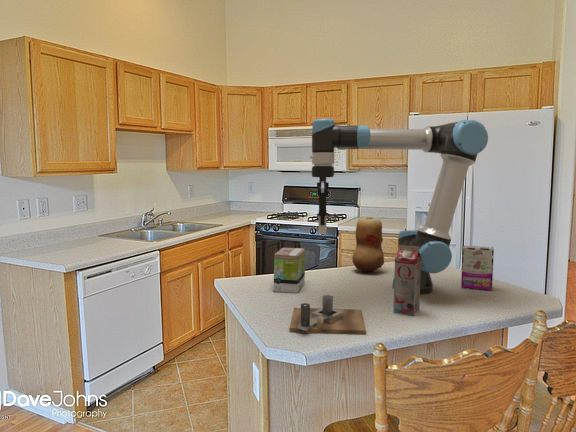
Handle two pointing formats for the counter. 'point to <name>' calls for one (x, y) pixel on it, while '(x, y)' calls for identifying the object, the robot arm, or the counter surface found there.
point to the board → (346, 325)
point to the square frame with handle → (309, 324)
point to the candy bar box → (477, 267)
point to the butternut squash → (368, 245)
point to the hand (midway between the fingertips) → (322, 234)
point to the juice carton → (407, 280)
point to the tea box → (289, 270)
